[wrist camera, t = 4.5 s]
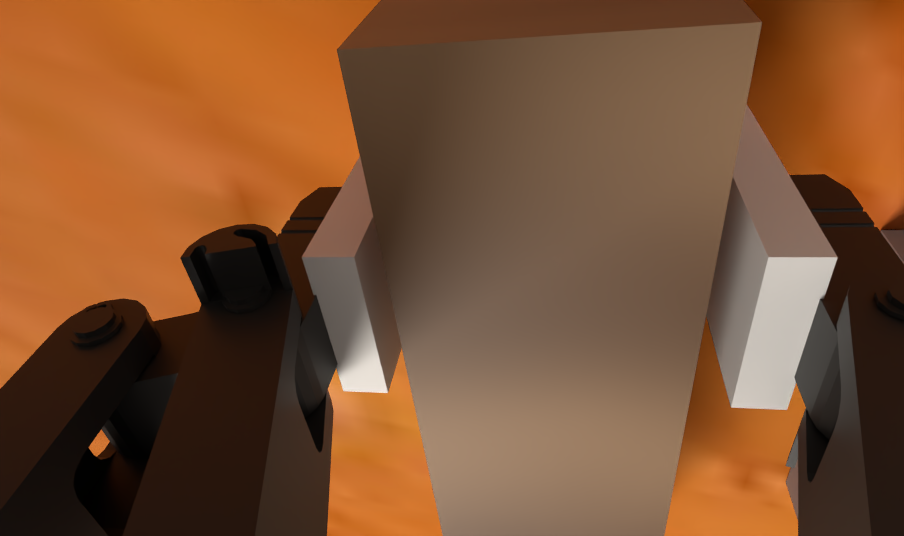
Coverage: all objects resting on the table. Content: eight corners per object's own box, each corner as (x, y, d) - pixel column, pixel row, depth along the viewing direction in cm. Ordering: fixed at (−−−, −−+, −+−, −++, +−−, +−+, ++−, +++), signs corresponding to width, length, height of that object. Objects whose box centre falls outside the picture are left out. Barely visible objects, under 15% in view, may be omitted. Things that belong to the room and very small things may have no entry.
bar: (413, -37, 9) (337, 49, 6) (690, -62, 9) (762, 22, 5) (496, 590, 21) (484, 727, 18) (614, 601, 21) (623, 746, 17)
